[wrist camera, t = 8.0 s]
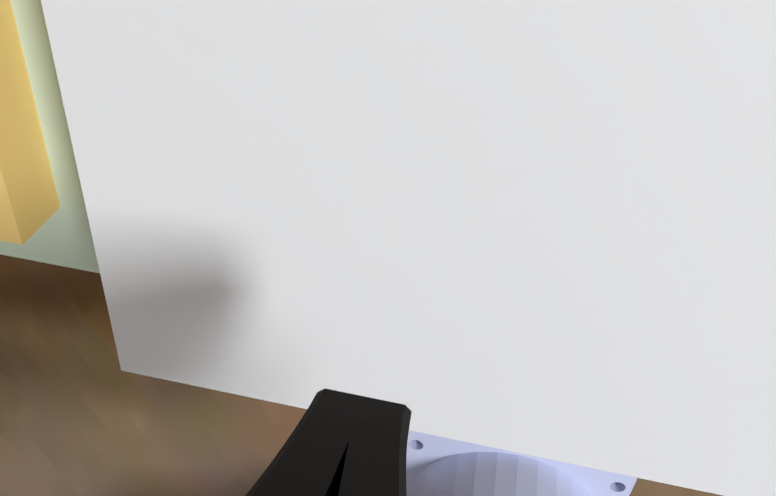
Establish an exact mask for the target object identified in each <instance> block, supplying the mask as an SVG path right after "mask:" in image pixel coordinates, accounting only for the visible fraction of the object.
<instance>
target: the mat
mask: <svg viewBox="0 0 776 496" xmlns="http://www.w3.org/2000/svg"><path fill="white" fill-rule="evenodd" d="M11 4H12V9H13V13H14V17H15V21H16V25H17V29H18V33H19V38H20V42H21V46H22V50H23V54H24V58H25V62H26V67H27V71H28V75H29V79H30V83H31V87H32V92H33V96H34V100H35V104H36V108H37V112H38V116H39V121H40V125H41V129H42V133H43V137H44V141H45V145H46V150H47V154H48V158H49V162H50V166H51V170H52V174H53V179H54V183H55V187H56V191H57V195H58V199H59V203H60V208H59V209H58V210H57V211H56V212H55V213H54V214H53V215H52V216H51V217H50V218H49V219H48V220H47V221H46V222H45V223H44V224H43V225H42V226H41V227H40V228H39V229H38V230H37V231H36V232H35V233H34V234H33V235H32V236H31V237H30V238H29V239H28V240H27V241H26V242H25V243H24V244H23V245H20V244H14V243H9V242H4V241H0V254H1V255H7V256H12V257H17V258H22V259H27V260H32V261H38V262H43V263H48V264H53V265H58V266H64V267H69V268H74V269H79V270H84V271H89V272H95V273H100V271H99V266H98V261H97V257H96V252H95V248H94V243H93V238H92V234H91V229H90V225H89V220H88V215H87V211H86V206H85V202H84V197H83V192H82V188H81V183H80V179H79V174H78V169H77V165H76V160H75V156H74V151H73V146H72V142H71V137H70V132H69V128H68V123H67V119H66V114H65V109H64V105H63V100H62V96H61V91H60V86H59V82H58V77H57V73H56V68H55V63H54V59H53V54H52V50H51V45H50V40H49V36H48V31H47V27H46V22H45V17H44V13H43V8H42V4H41V0H11Z"/></svg>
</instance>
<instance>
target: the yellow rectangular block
mask: <svg viewBox="0 0 776 496" xmlns="http://www.w3.org/2000/svg"><path fill="white" fill-rule="evenodd" d="M59 208H60V203H59V199H58V195H57V191H56V187H55V183H54V179H53V174H52V170H51V166H50V162H49V158H48V154H47V150H46V145H45V141H44V137H43V133H42V129H41V125H40V121H39V116H38V112H37V108H36V104H35V100H34V96H33V92H32V87H31V83H30V79H29V75H28V71H27V67H26V62H25V58H24V54H23V50H22V46H21V42H20V38H19V33H18V29H17V25H16V21H15V17H14V13H13V9H12V4H11V0H0V241H4V242H9V243H14V244H20V245H23V244H24V243H25V242H26V241H27V240H28V239H29V238H30V237H31V236H32V235H33V234H34V233H35V232H36V231H37V230H38V229H39V228H40V227H41V226H42V225H43V224H44V223H45V222H46V221H47V220H48V219H49V218H50V217H51V216H52V215H53V214H54V213H55V212H56V211H57V210H58V209H59Z"/></svg>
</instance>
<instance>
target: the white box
mask: <svg viewBox="0 0 776 496" xmlns="http://www.w3.org/2000/svg"><path fill="white" fill-rule="evenodd" d="M41 4H42V8H43V13H44V17H45V22H46V27H47V31H48V36H49V40H50V45H51V50H52V54H53V59H54V63H55V68H56V73H57V77H58V82H59V86H60V91H61V96H62V100H63V105H64V109H65V114H66V119H67V123H68V128H69V132H70V137H71V142H72V146H73V151H74V156H75V160H76V165H77V169H78V174H79V179H80V183H81V188H82V192H83V197H84V202H85V206H86V211H87V215H88V220H89V225H90V229H91V234H92V238H93V243H94V248H95V252H96V257H97V261H98V266H99V271H100V275H101V280H102V284H103V289H104V294H105V298H106V303H107V307H108V312H109V317H110V321H111V326H112V330H113V335H114V340H115V344H116V349H117V353H118V358H119V363H120V367H121V371H126V372H131V373H136V374H141V375H145V376H150V377H155V378H160V379H165V380H170V381H174V382H179V383H184V384H189V385H194V386H198V387H203V388H208V389H213V390H218V391H223V392H227V393H232V394H237V395H242V396H247V397H251V398H256V399H261V400H266V401H271V402H276V403H280V404H285V405H290V406H295V407H300V408H304V409H308V408H309V406H310V404H311V402H312V401H313V399H314V397H315V395H316V393H317V392H318V391H320V390H323V389H325V388H326V389H331V390H335V391H340V392H345V393H350V394H355V395H360V396H365V397H370V398H375V399H380V400H385V401H389V402H394V403H399V404H404V405H406V406H407V407H408V408H409V409H410V410H411V411H412V413H411V419H410V426H409V430H410V431H415V432H420V433H425V434H430V435H435V436H439V437H444V438H449V439H454V440H459V441H464V442H468V443H473V444H478V445H483V446H488V447H492V448H497V449H502V450H507V451H512V452H517V453H521V454H526V455H531V456H536V457H541V458H545V459H550V460H555V461H560V462H565V463H570V464H574V465H579V466H584V467H589V468H594V469H598V470H603V471H608V472H613V473H618V474H623V475H627V476H632V477H637V478H642V479H647V480H651V481H656V482H661V483H666V484H671V485H676V486H680V487H685V488H690V489H695V490H700V491H704V492H709V493H714V494H719V495H724V496H776V0H41Z"/></svg>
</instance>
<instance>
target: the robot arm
mask: <svg viewBox="0 0 776 496" xmlns="http://www.w3.org/2000/svg"><path fill="white" fill-rule="evenodd" d="M411 413H412V411H411V410H410V409H409V408H408V407H407V406H406V405H404V404H399V403H394V402H389V401H385V400H380V399H375V398H370V397H365V396H360V395H355V394H350V393H345V392H340V391H335V390H331V389H326V388H325V389H323V390H320V391H318V392H317V393H316V395H315V397H314V399H313V401H312V402H311V404H310V406H309V408H308V409H307V411H306V412H305V414H304V416H303V417H302V419H301V420H300V422H299V423H298V425H297V427H296V428H295V430H294V431H293V433H292V434H291V435H290V437H289V438H288V440H287V441H286V443H285V444H284V446H283V447H282V448H281V450H280V451H279V453H278V454H277V455H276V457H275V458H274V460H273V461H272V462H271V464H270V465H269V466H268V468H267V469H266V470H265V472H264V473H263V474H262V475H261V477H260V478H259V479H258V481H257V482H256V483H255V484H254V486H253V487H252V488H251V490H250V491H249V492H248V493H247V495H246V496H629V495H630V493H631V491H632V489H633V487H634V485H635V482H636V480H637V477H632V476H627V475H623V474H618V473H613V472H608V471H603V470H598V469H594V468H589V467H584V466H579V465H574V464H570V463H565V462H560V461H555V460H550V459H545V458H541V457H536V456H531V455H526V454H521V453H517V452H512V451H507V450H502V449H497V448H492V447H488V446H483V445H478V444H473V443H468V442H464V441H459V440H454V439H449V438H444V437H439V436H435V435H430V434H425V433H420V432H415V431H410V430H409V426H410V419H411ZM417 440H418V441H417Z"/></svg>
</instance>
